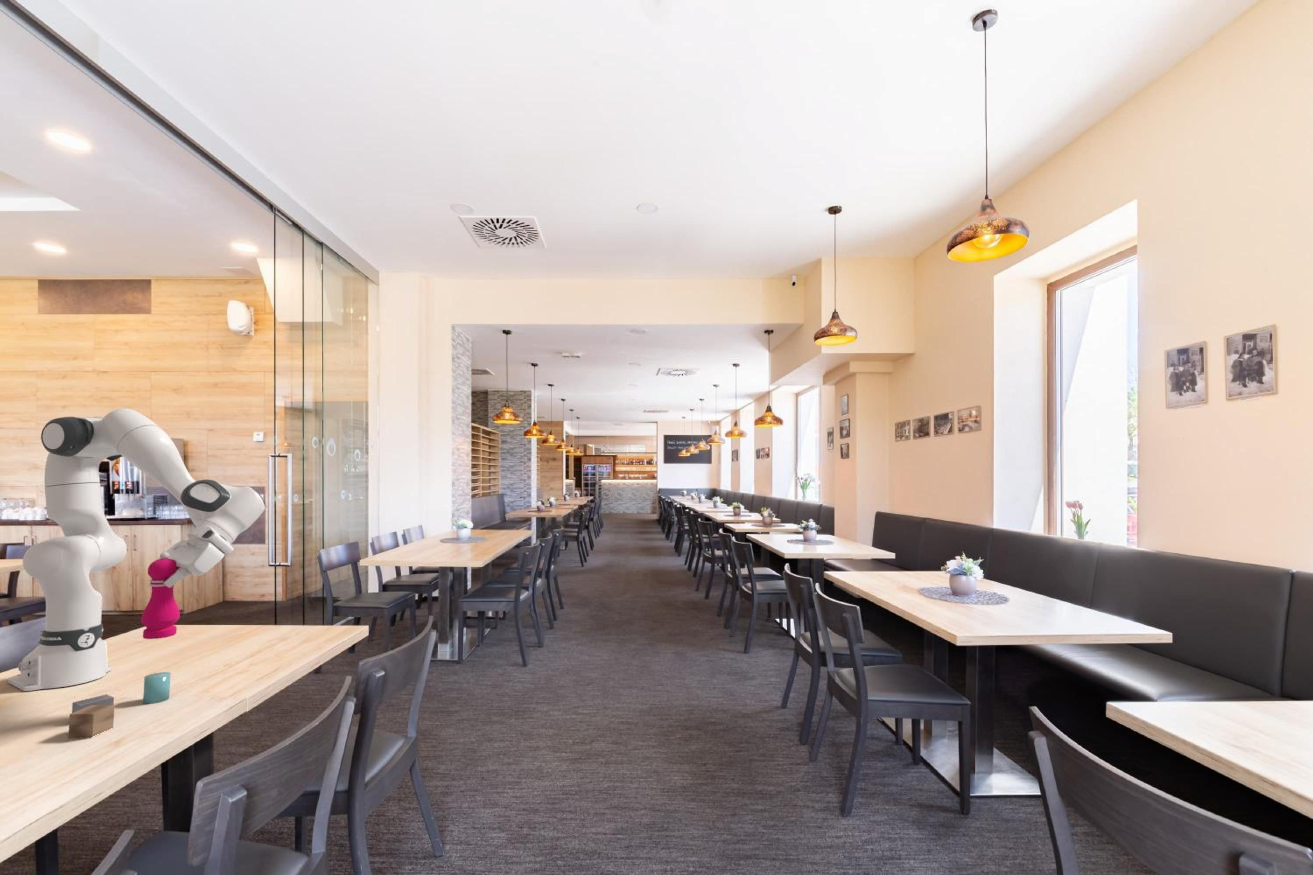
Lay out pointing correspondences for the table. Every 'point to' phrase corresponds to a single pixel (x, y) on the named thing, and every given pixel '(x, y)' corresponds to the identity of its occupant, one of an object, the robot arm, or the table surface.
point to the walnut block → (91, 721)
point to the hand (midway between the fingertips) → (159, 584)
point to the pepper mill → (161, 601)
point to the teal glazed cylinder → (156, 688)
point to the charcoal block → (92, 702)
